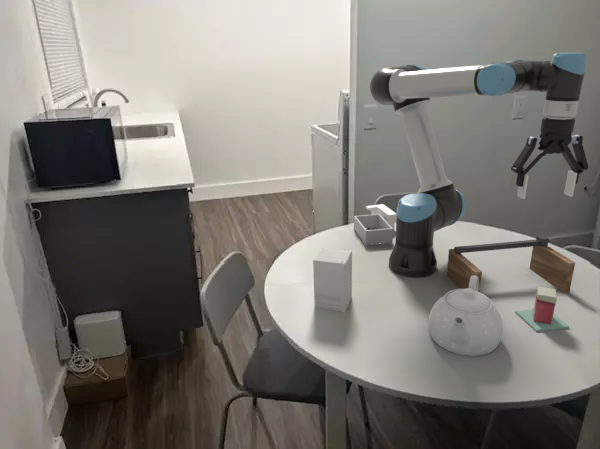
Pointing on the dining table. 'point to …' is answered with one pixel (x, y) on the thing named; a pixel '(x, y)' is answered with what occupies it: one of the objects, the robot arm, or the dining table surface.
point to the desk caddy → (373, 236)
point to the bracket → (384, 213)
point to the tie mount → (542, 263)
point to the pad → (538, 326)
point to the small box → (544, 305)
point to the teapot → (466, 321)
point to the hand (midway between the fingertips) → (544, 196)
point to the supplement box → (333, 279)
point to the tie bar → (503, 245)
